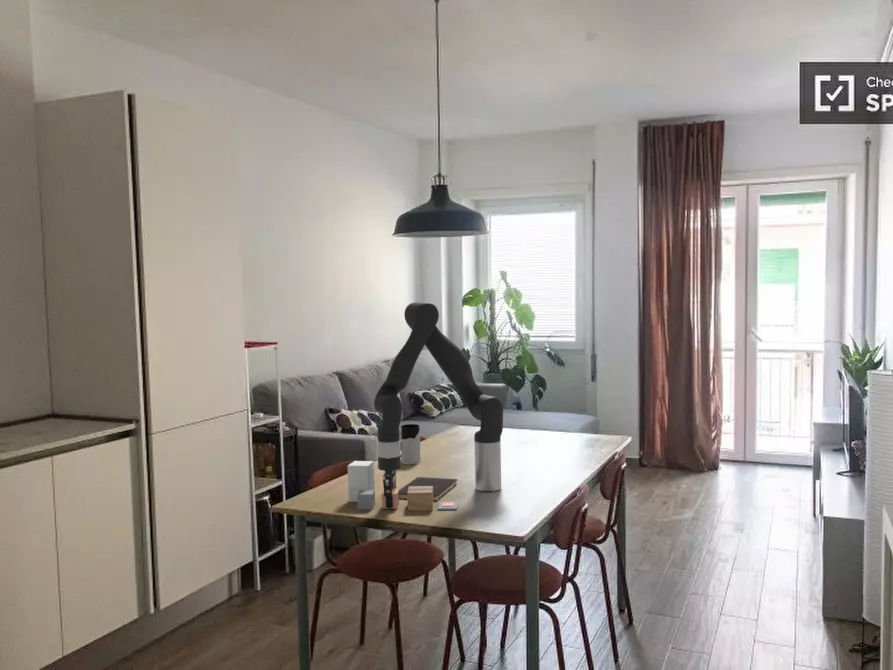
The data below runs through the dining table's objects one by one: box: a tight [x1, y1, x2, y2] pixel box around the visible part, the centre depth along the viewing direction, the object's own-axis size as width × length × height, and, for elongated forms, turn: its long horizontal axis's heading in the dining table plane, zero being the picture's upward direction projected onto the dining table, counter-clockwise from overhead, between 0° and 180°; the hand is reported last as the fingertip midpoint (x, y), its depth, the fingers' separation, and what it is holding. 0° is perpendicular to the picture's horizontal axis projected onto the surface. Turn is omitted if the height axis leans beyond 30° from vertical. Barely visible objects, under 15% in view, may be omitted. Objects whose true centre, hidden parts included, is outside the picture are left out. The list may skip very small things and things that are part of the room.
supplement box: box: [347, 460, 376, 503], centre depth 259 cm, size 7×7×13 cm
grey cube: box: [356, 489, 376, 510], centre depth 250 cm, size 5×5×5 cm
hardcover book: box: [398, 476, 458, 501], centre depth 269 cm, size 16×23×2 cm
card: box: [437, 500, 459, 511], centre depth 248 cm, size 8×6×1 cm
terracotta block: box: [381, 489, 400, 510], centre depth 249 cm, size 5×5×5 cm
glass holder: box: [399, 423, 423, 465], centre depth 315 cm, size 9×14×15 cm, turn 88°
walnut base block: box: [407, 486, 434, 511], centre depth 249 cm, size 8×8×6 cm
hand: (390, 505), depth 249 cm, fingers closed on terracotta block, 5 cm apart
